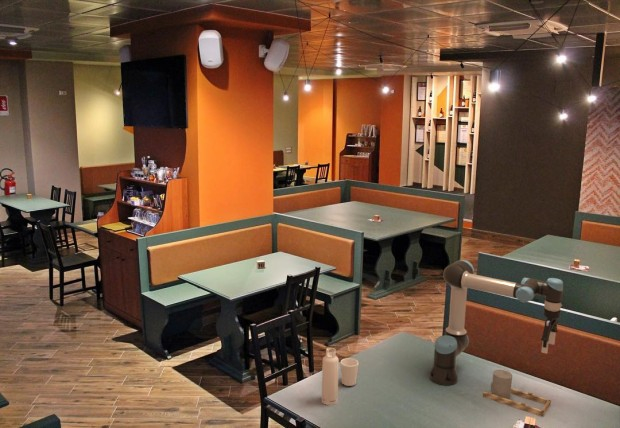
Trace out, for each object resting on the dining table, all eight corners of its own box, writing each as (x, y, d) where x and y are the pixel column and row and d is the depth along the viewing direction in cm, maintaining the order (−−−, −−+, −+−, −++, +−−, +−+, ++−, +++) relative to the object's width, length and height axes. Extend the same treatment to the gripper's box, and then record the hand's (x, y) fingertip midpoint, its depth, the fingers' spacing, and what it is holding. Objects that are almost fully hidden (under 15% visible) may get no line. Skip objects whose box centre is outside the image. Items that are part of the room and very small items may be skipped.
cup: (337, 386, 291) (337, 364, 289) (342, 378, 300) (343, 356, 298) (354, 389, 287) (355, 367, 285) (360, 381, 296) (361, 360, 294)
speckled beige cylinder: (511, 401, 279) (513, 379, 277) (492, 399, 281) (494, 377, 278) (508, 392, 288) (510, 370, 286) (490, 390, 290) (491, 368, 288)
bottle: (339, 398, 279) (341, 347, 273) (334, 406, 271) (336, 354, 266) (324, 395, 281) (325, 345, 276) (319, 403, 274) (320, 351, 268)
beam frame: (482, 396, 283) (483, 391, 283) (491, 386, 294) (492, 380, 294) (543, 416, 265) (543, 410, 265) (550, 404, 276) (551, 399, 276)
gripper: (553, 317, 261) (549, 358, 265) (566, 304, 281) (561, 342, 285) (537, 314, 266) (533, 354, 270) (550, 300, 285) (546, 338, 289)
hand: (547, 348), depth 277 cm, fingers open, 13 cm apart
